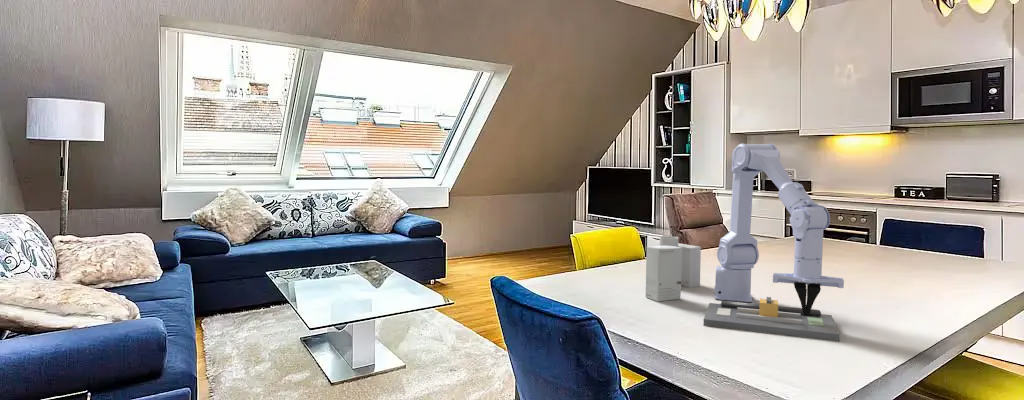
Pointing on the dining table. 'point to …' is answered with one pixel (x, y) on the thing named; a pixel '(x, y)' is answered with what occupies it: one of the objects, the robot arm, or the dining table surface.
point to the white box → (686, 261)
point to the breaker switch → (768, 307)
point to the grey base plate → (771, 320)
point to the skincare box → (663, 273)
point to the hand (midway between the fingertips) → (805, 315)
